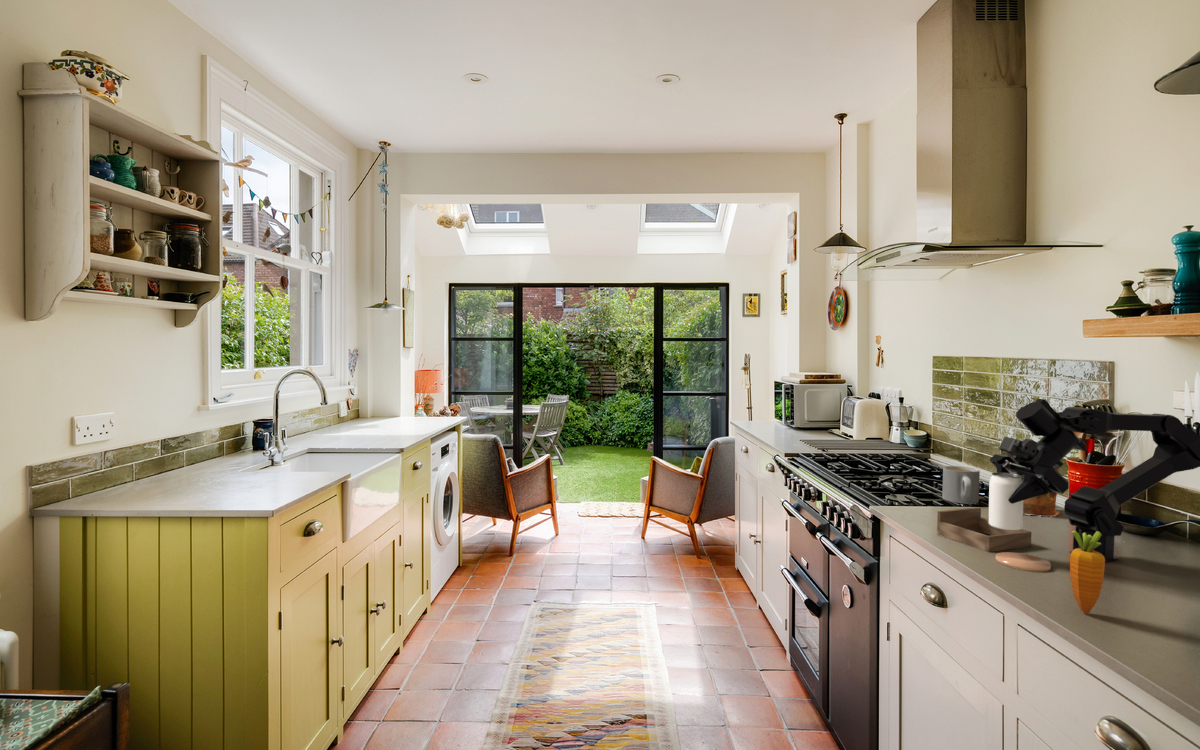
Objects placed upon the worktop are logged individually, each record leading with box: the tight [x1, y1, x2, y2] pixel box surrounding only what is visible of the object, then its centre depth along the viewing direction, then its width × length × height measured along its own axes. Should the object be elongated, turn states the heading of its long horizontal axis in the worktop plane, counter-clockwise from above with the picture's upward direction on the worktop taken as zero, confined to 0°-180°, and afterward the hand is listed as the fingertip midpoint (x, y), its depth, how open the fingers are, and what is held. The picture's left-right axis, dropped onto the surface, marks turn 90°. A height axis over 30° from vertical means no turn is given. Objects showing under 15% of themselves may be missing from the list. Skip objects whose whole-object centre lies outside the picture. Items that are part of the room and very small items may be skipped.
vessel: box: [1005, 451, 1060, 518], centre depth 176 cm, size 14×14×20 cm
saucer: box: [995, 551, 1052, 573], centre depth 132 cm, size 10×10×1 cm
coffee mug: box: [941, 465, 981, 505], centre depth 188 cm, size 13×10×10 cm
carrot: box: [1069, 530, 1106, 615], centre depth 106 cm, size 5×5×15 cm
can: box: [988, 472, 1024, 531], centre depth 136 cm, size 6×6×12 cm
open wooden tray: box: [936, 506, 1033, 553], centre depth 148 cm, size 14×14×6 cm
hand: (1000, 498), depth 136 cm, fingers closed on can, 6 cm apart
